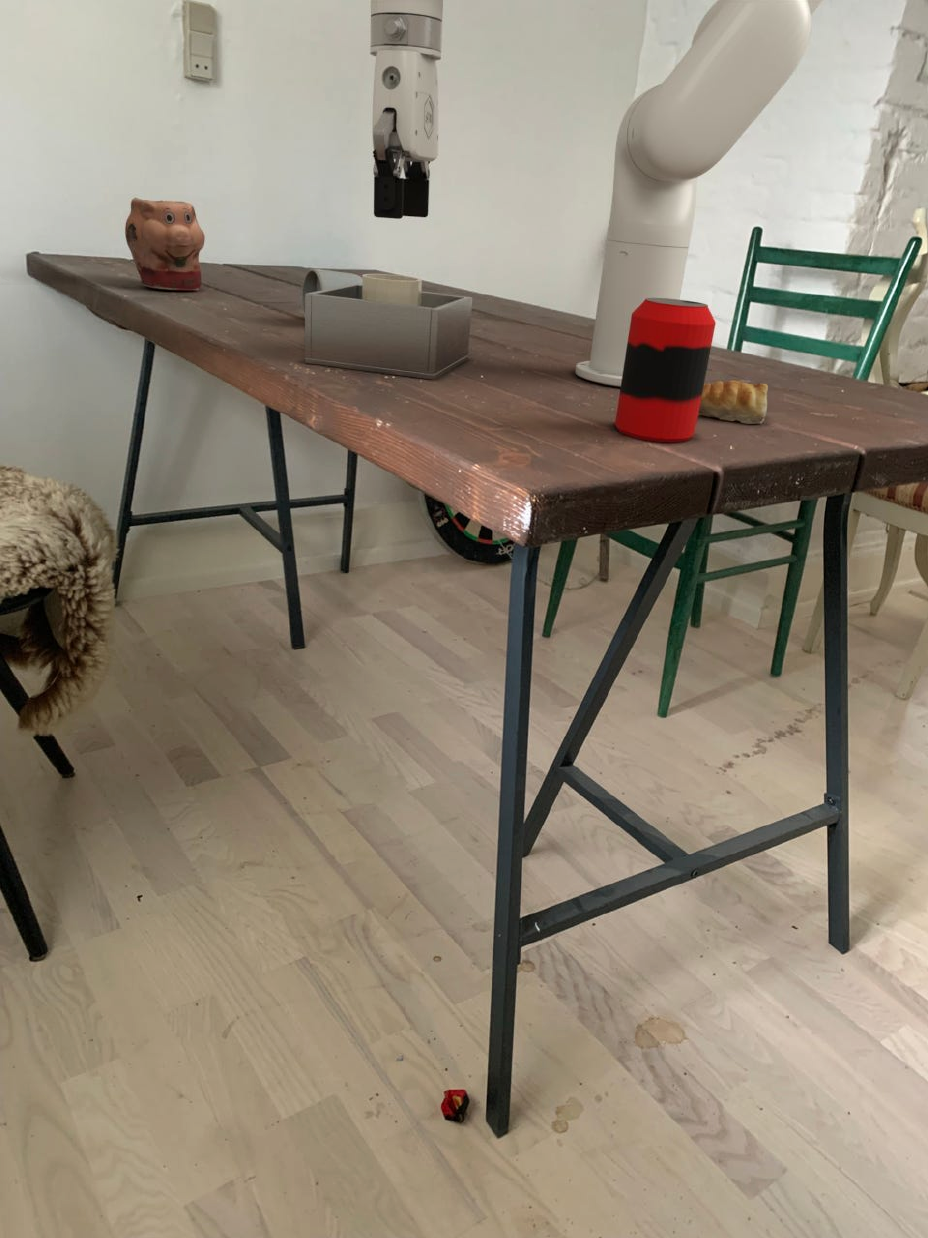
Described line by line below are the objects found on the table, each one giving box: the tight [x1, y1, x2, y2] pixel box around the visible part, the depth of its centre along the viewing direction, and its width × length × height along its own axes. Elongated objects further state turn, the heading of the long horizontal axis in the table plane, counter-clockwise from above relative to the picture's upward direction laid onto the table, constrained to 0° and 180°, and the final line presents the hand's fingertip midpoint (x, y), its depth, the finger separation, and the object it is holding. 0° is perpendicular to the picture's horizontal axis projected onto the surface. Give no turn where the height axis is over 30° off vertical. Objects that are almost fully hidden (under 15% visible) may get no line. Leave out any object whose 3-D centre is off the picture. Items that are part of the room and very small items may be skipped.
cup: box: [361, 273, 423, 306], centre depth 108 cm, size 7×7×9 cm
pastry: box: [698, 379, 769, 425], centre depth 97 cm, size 9×7×4 cm
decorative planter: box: [124, 197, 206, 291], centre depth 153 cm, size 20×12×14 cm, turn 40°
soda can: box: [614, 298, 717, 444], centre depth 85 cm, size 8×8×12 cm
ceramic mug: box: [300, 268, 362, 318], centre depth 132 cm, size 11×8×8 cm
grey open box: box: [304, 284, 473, 381], centre depth 108 cm, size 16×16×8 cm
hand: (402, 216), depth 103 cm, fingers open, 9 cm apart
